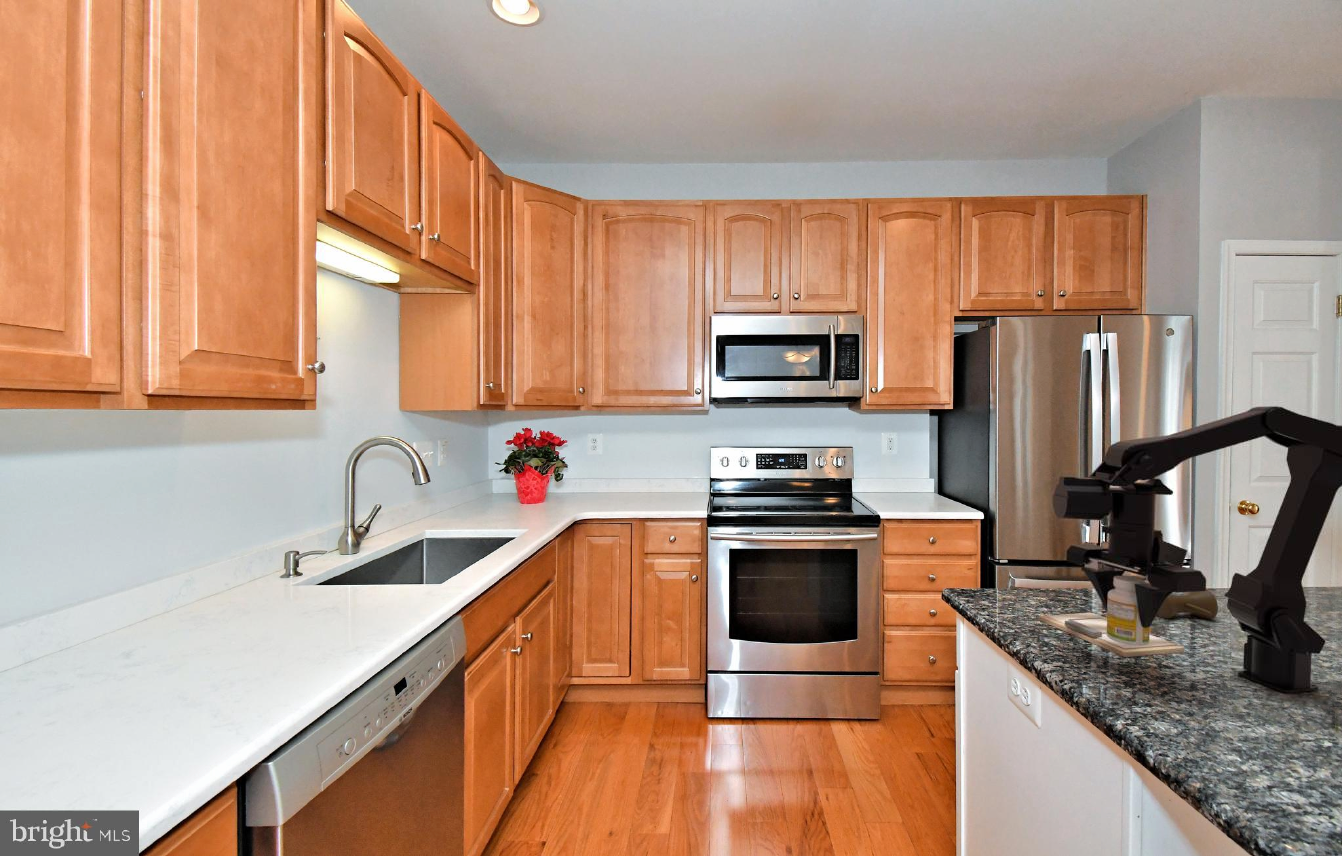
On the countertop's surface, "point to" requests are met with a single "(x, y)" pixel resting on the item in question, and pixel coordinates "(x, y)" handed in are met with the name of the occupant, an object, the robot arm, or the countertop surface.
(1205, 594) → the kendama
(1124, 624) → the supplement bottle
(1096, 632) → the beige rectangular board
